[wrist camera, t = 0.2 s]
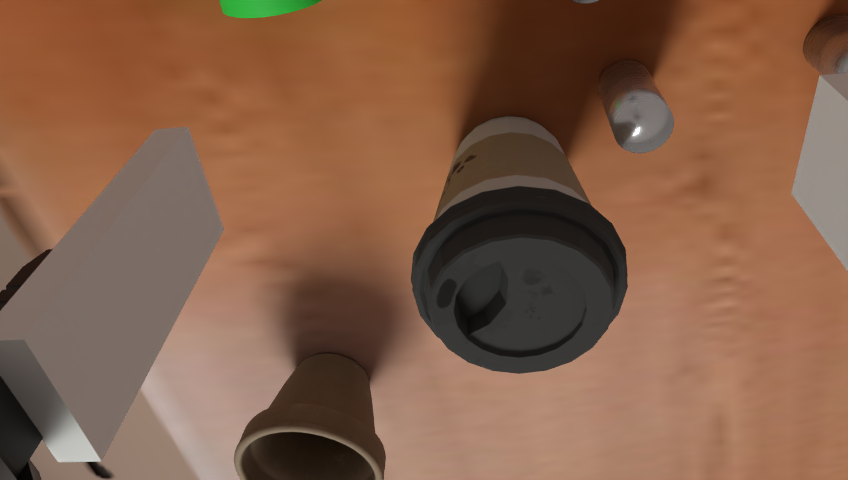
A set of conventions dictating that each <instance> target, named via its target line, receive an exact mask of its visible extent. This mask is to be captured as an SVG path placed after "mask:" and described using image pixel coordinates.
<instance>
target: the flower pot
mask: <svg viewBox="0 0 848 480" xmlns="http://www.w3.org/2000/svg"><path fill="white" fill-rule="evenodd" d="M385 460H386V456H385V450H384V447H383V444H382V442H381V441H380V439H379V438H378V436H377V435H376V434H375V427H374V416H373V406H372V398H371V391H370V385H369V380H368V377H367V374H366V373H365V371H364V370H363V368H362V367H361V366H360V365H359V364H357V363H356V362H354V361H353V360H351V359H349V358H347V357H344V356H341V355H337V354H329V353H326V354H317V355H313V356H311V357H308V358H306V359H305V360H303V361H302V362H301V363H300V364H299V365H298V367H297V368H296V369H295V370H294V372H293V373H292V374H291V376H290V377H289V379H288V380H287V381H286V383H285V384H284V386H283V387H282V388H281V390H280V391H279V393H278V394H277V396H276V398H275V399H274V401H273V402H272V404H271V405H270V407H269V408H268V409H266V410H264V411H262V412H260V413H259V414H257V415H256V416H255V417H254V418H253V419H252V420H251V421H250V422H249V423H248V425H247V426H246V428H245V430H244V432H243V434H242V437H241V440H240V442H239V444H238V446H237V448H236V450H235V455H234V464H235V468H236V471H237V474H238V476H239V478H240V479H241V480H384V469H385Z"/></svg>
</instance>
